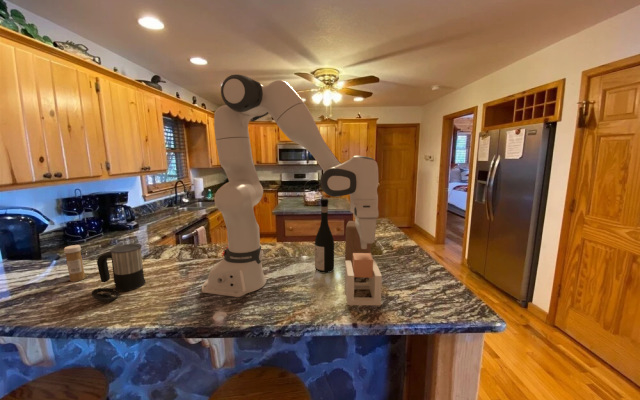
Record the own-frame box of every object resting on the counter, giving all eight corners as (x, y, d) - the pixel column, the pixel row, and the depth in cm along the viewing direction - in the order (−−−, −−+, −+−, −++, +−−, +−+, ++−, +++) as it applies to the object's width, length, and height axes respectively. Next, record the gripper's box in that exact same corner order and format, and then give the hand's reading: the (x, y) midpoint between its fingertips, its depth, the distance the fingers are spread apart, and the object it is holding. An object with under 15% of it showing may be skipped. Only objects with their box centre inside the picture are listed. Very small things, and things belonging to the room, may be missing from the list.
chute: (347, 304, 83) (347, 275, 81) (345, 286, 95) (345, 260, 93) (380, 305, 83) (381, 276, 81) (374, 286, 95) (375, 260, 93)
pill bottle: (87, 276, 104) (82, 243, 102) (82, 281, 100) (76, 247, 98) (73, 277, 102) (67, 245, 100) (67, 283, 98) (61, 249, 96)
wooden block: (369, 276, 103) (371, 227, 99) (344, 274, 105) (345, 226, 101) (370, 266, 112) (371, 221, 109) (347, 264, 114) (347, 220, 111)
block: (354, 277, 85) (354, 259, 84) (352, 269, 90) (352, 253, 90) (372, 277, 84) (373, 260, 83) (369, 269, 90) (370, 253, 89)
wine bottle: (319, 275, 104) (319, 201, 99) (312, 267, 111) (311, 198, 106) (337, 271, 107) (337, 200, 102) (329, 264, 114) (329, 197, 109)
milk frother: (147, 277, 102) (142, 241, 100) (143, 296, 89) (138, 255, 86) (101, 286, 96) (95, 248, 93) (89, 308, 82) (81, 263, 80)
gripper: (351, 201, 94) (351, 237, 96) (357, 213, 74) (357, 259, 76) (368, 201, 94) (368, 237, 96) (379, 213, 74) (378, 259, 76)
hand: (363, 247), depth 86 cm, fingers closed
